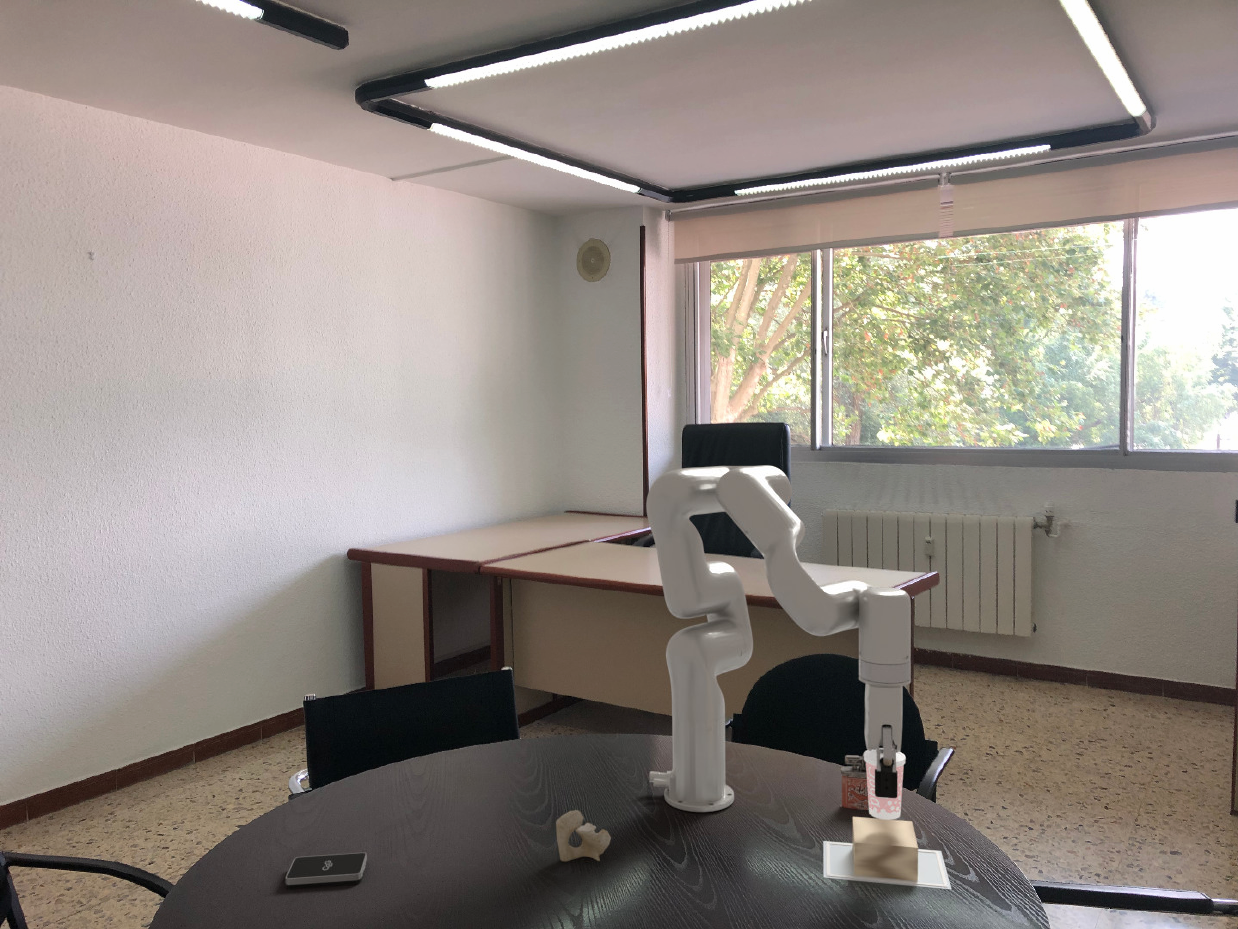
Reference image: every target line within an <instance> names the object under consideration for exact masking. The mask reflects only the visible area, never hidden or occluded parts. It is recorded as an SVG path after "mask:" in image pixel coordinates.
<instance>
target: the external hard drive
mask: <svg viewBox="0 0 1238 929" xmlns="http://www.w3.org/2000/svg"><path fill="white" fill-rule="evenodd" d="M367 857H368V856H367V852H351V853H349V852H348V853H337V854H323V855H322V854H321V855H308V856H307V855H306V856H297V857H295V858H294V859H293V861H292V863H291V865H290V867H289V869H288V871H287V873H286V876H285V887H286V889H288V890H296V889H297V890H298V889H311V888H322V887H323V888H325V887H335V886H336V887H338V886H339V887H340V886H350V885H352V886H353V885H359V884H360V883H361V882H362V880H363V877H364V874H365V870H366V866H367V862H368V858H367Z"/></svg>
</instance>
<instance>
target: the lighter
mask: <svg viewBox="0 0 1238 929" xmlns="http://www.w3.org/2000/svg"><path fill="white" fill-rule="evenodd" d="M844 764H846V765H847V766H842V767H841V768H840V775H841V804H840V808H844V809H850V810H859V811H860V810H864V811H866V810H867V811H869V803H868V787H867V772H866V761H865V760H864V754H862V756H859V755H849V754H847V755H845V756H844ZM848 765H851V766H848Z"/></svg>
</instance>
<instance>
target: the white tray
mask: <svg viewBox="0 0 1238 929" xmlns="http://www.w3.org/2000/svg"><path fill="white" fill-rule="evenodd" d="M822 842H823V843H822V844H823V846H822V847H823V848H822V849H823V851H822V852H823V858H822V859H823V860H822V861H823V863H822V865H823V878H824V879H834V880H845V881H856V882H864V883H865V882H867V883H876V884H877V883H879V884H885V885H886V884H887V885H888V884H889V885H898V886H899V885H900V886H911V887H920V888H921V887H922V888H931V889H943V890H951V891H952V885H951V882H950V879H949V875H948V871H947V868H946V864H945V861H944V856H943V853H942V850H933V849H921V848H918V881H911V880H900V879H890V878H879V877H868V876H857V875H854V861H853V842H852V843H851V842H842V841H841V842H840V841H838V842H837V841H828V840H823V841H822Z"/></svg>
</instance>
